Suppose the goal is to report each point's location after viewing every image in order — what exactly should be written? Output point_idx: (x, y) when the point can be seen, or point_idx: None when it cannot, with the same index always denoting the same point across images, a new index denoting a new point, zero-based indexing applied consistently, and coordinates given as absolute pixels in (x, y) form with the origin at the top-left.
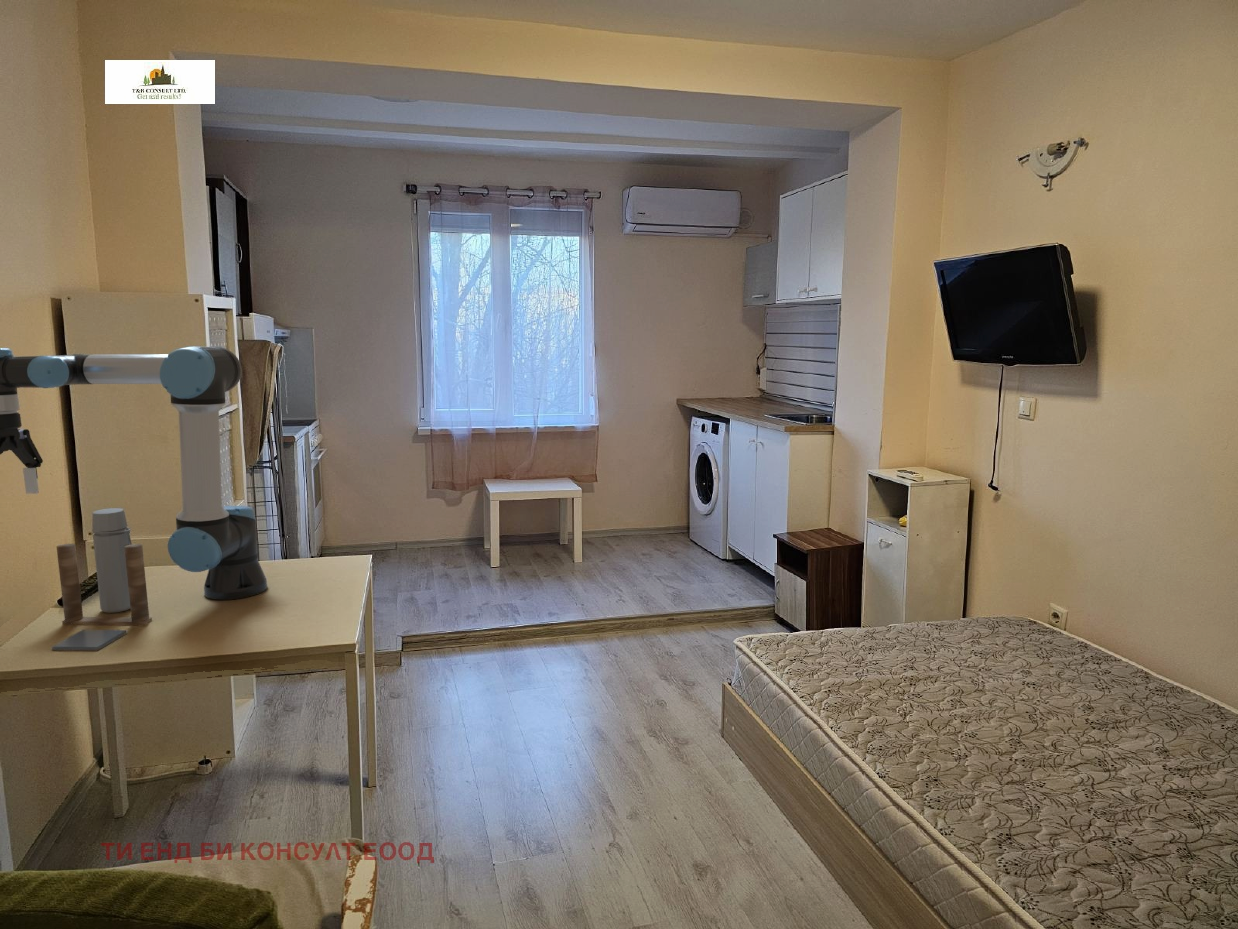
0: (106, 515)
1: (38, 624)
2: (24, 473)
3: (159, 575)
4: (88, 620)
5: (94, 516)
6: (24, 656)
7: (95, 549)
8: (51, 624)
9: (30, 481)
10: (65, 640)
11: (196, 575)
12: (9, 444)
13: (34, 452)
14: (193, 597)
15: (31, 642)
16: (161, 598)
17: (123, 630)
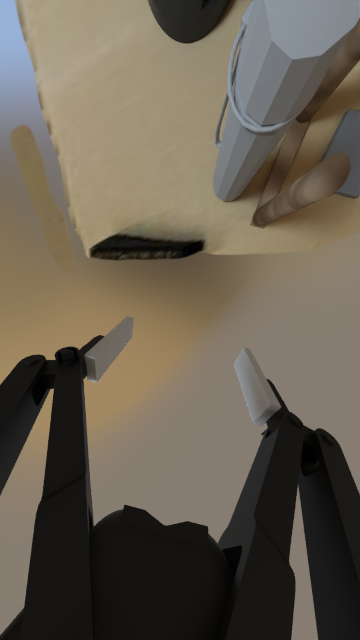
0: None
1: (251, 253)
2: (106, 367)
3: (105, 185)
4: (274, 195)
5: (345, 40)
6: (355, 222)
7: (274, 146)
8: (257, 240)
9: (118, 342)
10: (343, 189)
11: (102, 118)
12: (153, 613)
13: (11, 411)
14: (207, 62)
15: (309, 235)
16: (199, 131)
17: (347, 113)
